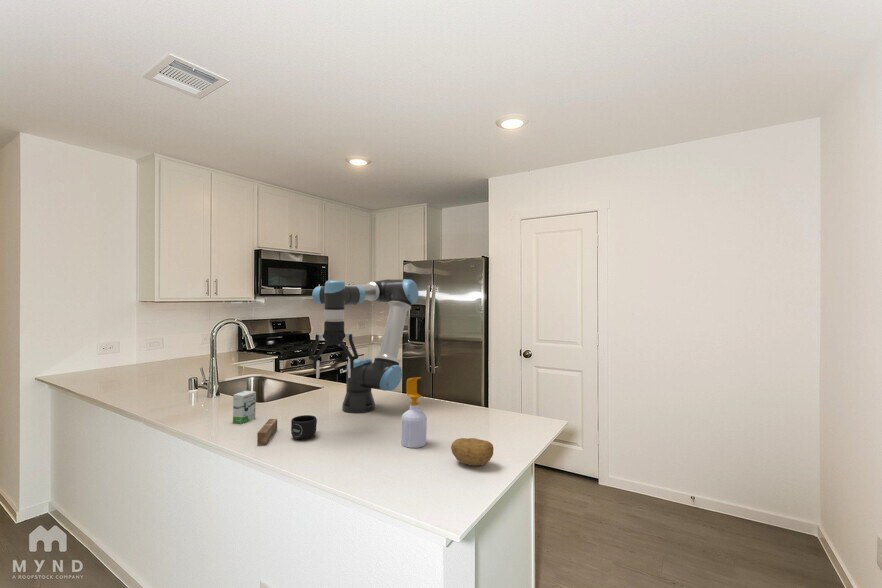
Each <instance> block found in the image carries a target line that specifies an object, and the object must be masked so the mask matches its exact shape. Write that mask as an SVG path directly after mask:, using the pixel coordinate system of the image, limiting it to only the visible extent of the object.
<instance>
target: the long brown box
mask: <svg viewBox="0 0 882 588" xmlns="http://www.w3.org/2000/svg"><path fill="white" fill-rule="evenodd" d="M277 431H278V418H269V419H268V420H267V421H266V422H265V423H264V424H263V425H262V427H261V428H260V429H259V430H258V431H257V434H256V435H257V436H256V438H257V441H256V443H257V446H267V444H268V443H269V442H270V440H271V439H272V438H273V437H274V435H276V432H277Z"/></svg>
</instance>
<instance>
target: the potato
mask: <svg viewBox="0 0 882 588" xmlns="http://www.w3.org/2000/svg"><path fill="white" fill-rule="evenodd" d="M450 450H451V454H452V455H453V456H454V458H455V459H456V460H457V461H458V462H460V463H462V464H466V465H469V466H472V467H473V466H474V467H475V466H483V465H486V464H487V463H489V462H490V461H491V460H492V458H493V455H494V444H492V442H491V441H487V440H484V439H480V438H475V437H468V438H466V437H461V438H457V439H455V440H454V441H452V444H451V446H450Z"/></svg>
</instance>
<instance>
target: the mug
mask: <svg viewBox="0 0 882 588" xmlns="http://www.w3.org/2000/svg"><path fill="white" fill-rule="evenodd" d="M290 422H291V423H290V425H291V426H290V427H291V429H290V433H291V436H292V438H293V439H296V440H299V441H304V440H305V441H306V440H309V439H311V438H313V437H315V435H316V433H317V425H318V424H317V423H318V420H317V417H316V416H315V415H310V414H307V415H304V414H303V415H297V416H295V417H293V418H292V419H291V421H290Z"/></svg>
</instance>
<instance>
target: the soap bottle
mask: <svg viewBox="0 0 882 588" xmlns="http://www.w3.org/2000/svg"><path fill="white" fill-rule="evenodd" d="M420 379H422V377H421V376H417V377H416V376H415V377H409V378H407V380H406V388H405V389H406V396H408V398H409V397H410V400H411V402H409V409H408V410H406V411H405V412H403V414H402V415H401V445H402V446H403V447H406V448H409V449H416V448H417V449H418V448H422V447H425V446H426V444H427V432H428V431H427V429H428V428H427V414H426V413H425V412H424V411H422V410H421V409H420V402H418V399H419V398H422V395H421V394H419V392H418V380H420Z"/></svg>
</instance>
